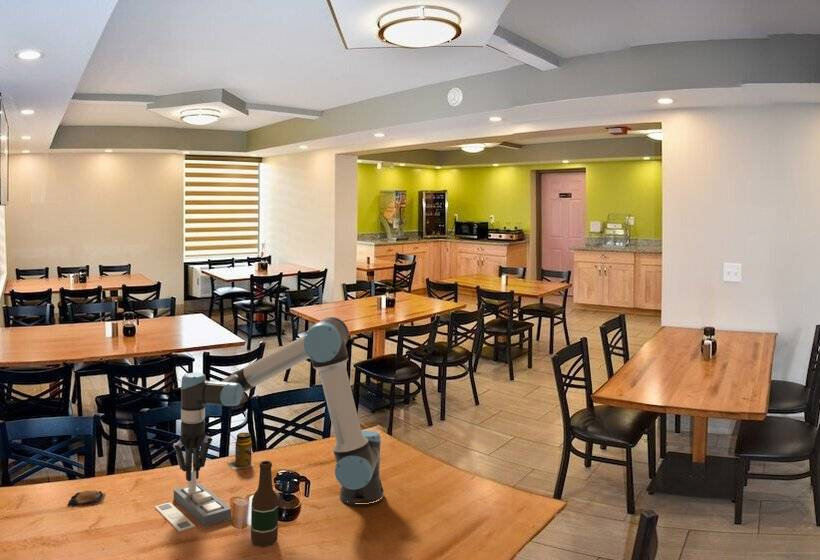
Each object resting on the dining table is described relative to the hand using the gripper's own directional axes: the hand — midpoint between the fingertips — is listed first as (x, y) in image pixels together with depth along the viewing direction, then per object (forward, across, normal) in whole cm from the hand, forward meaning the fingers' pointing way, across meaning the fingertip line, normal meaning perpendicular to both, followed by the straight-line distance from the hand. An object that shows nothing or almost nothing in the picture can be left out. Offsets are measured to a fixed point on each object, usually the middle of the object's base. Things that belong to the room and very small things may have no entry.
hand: (192, 488), depth 209 cm
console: (+4, 0, +8) cm, 9 cm away
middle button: (+2, 0, +8) cm, 8 cm away
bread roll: (+5, +27, -21) cm, 34 cm away
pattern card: (+4, +9, +8) cm, 12 cm away
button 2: (+3, 0, +15) cm, 15 cm away
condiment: (+4, -27, -18) cm, 33 cm away
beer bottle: (+4, -6, +38) cm, 38 cm away
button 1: (+3, 0, 0) cm, 3 cm away
